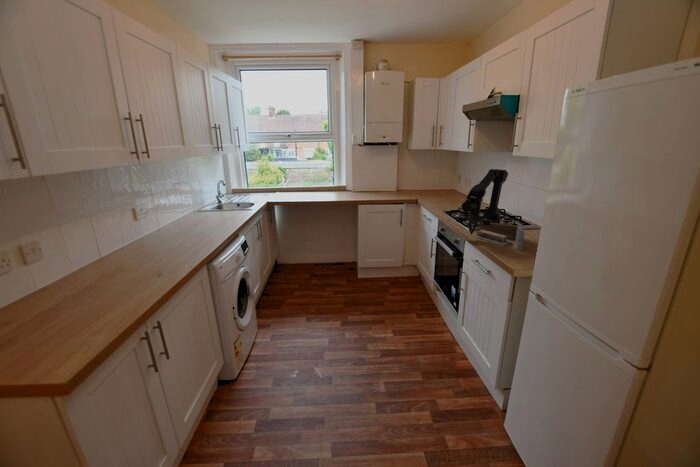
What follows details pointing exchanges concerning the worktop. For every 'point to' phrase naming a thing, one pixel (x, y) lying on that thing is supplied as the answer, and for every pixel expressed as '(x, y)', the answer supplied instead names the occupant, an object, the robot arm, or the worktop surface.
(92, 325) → the worktop surface
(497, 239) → the packaged product
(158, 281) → the worktop surface
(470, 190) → the robot arm
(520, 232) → the brown piece
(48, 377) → the worktop surface
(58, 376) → the worktop surface
